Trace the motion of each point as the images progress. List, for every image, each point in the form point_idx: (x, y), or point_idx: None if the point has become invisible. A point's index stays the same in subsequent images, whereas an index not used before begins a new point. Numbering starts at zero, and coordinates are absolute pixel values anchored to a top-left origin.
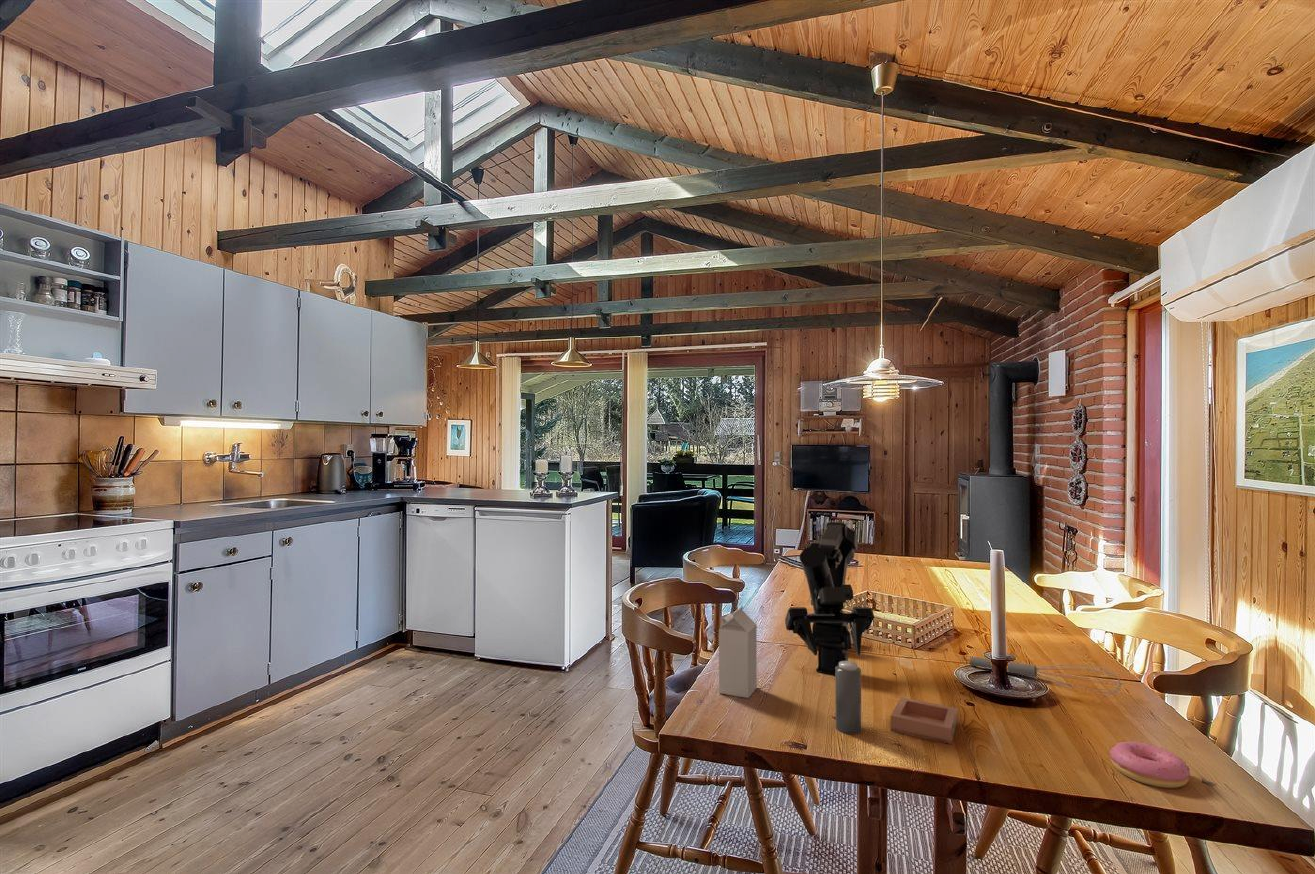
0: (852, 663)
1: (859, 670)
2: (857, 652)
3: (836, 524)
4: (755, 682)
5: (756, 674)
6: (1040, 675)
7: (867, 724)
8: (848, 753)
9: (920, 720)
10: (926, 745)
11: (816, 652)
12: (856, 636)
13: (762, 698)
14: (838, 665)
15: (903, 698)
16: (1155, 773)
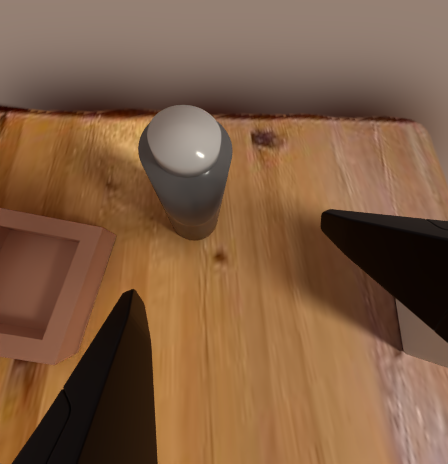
0: (167, 142)
1: (144, 144)
2: (139, 302)
3: None
4: (416, 344)
5: (436, 360)
6: None
7: (159, 248)
8: None
9: (37, 223)
10: (58, 197)
11: (327, 211)
12: (106, 378)
13: (369, 297)
14: (223, 170)
15: (48, 354)
16: None
